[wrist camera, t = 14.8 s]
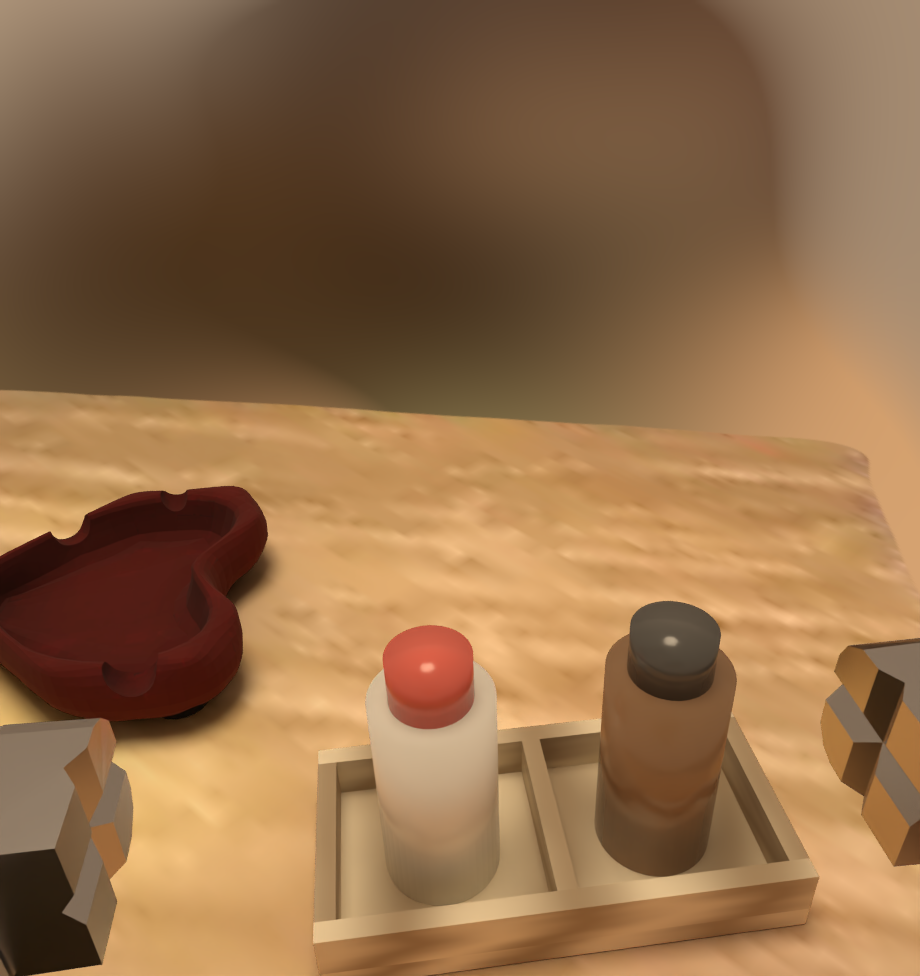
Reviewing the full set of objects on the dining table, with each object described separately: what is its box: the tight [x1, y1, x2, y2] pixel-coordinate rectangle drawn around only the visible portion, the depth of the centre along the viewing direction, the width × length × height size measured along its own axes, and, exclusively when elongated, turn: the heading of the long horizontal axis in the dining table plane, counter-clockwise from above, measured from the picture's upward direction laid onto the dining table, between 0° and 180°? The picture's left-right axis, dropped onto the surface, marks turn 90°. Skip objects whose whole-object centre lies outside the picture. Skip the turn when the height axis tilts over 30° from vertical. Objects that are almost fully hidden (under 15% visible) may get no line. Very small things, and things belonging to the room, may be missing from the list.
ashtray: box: [0, 486, 268, 721], centre depth 49 cm, size 18×16×5 cm
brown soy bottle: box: [594, 601, 737, 877], centre depth 34 cm, size 5×5×11 cm
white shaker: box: [365, 625, 500, 906], centre depth 33 cm, size 5×5×11 cm
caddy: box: [313, 712, 819, 976], centre depth 36 cm, size 19×9×3 cm, turn 97°
